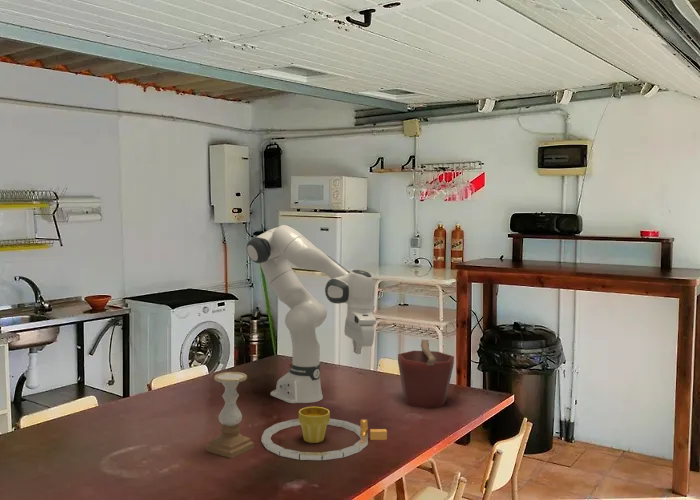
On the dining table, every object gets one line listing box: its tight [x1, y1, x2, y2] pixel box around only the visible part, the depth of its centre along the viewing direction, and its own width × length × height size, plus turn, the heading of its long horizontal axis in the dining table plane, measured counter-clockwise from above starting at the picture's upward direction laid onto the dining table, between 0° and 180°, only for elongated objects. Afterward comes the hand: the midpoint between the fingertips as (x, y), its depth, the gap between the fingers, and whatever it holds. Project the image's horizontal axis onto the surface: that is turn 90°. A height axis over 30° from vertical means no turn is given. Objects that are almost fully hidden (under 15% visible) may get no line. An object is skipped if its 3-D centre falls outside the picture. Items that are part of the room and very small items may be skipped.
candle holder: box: [205, 371, 255, 459], centre depth 199 cm, size 11×11×24 cm
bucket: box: [397, 339, 455, 409], centre depth 254 cm, size 24×22×25 cm
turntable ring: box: [261, 418, 369, 461], centre depth 209 cm, size 35×35×6 cm
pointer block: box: [369, 428, 388, 441], centre depth 211 cm, size 6×2×3 cm, turn 95°
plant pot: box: [298, 406, 331, 444], centre depth 209 cm, size 10×10×10 cm
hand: (357, 353), depth 227 cm, fingers closed
